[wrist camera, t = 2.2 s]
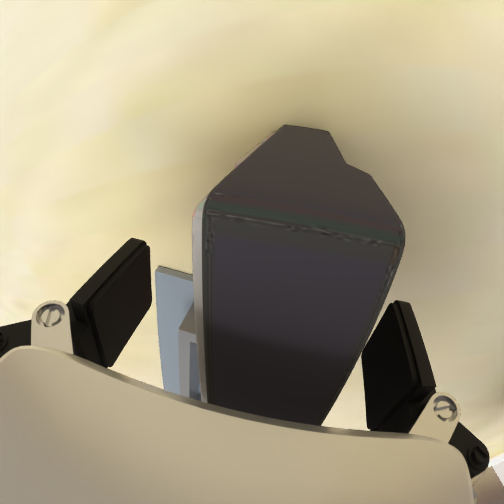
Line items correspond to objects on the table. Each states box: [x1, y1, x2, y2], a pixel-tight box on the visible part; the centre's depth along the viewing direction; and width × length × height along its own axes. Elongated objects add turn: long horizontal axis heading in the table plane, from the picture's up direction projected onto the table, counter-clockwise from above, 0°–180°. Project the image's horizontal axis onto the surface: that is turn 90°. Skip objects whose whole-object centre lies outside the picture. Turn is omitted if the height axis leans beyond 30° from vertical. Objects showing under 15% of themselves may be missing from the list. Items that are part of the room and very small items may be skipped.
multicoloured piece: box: [192, 125, 405, 426], centre depth 14 cm, size 11×4×15 cm, turn 175°
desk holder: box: [155, 266, 201, 401], centre depth 28 cm, size 16×20×4 cm
